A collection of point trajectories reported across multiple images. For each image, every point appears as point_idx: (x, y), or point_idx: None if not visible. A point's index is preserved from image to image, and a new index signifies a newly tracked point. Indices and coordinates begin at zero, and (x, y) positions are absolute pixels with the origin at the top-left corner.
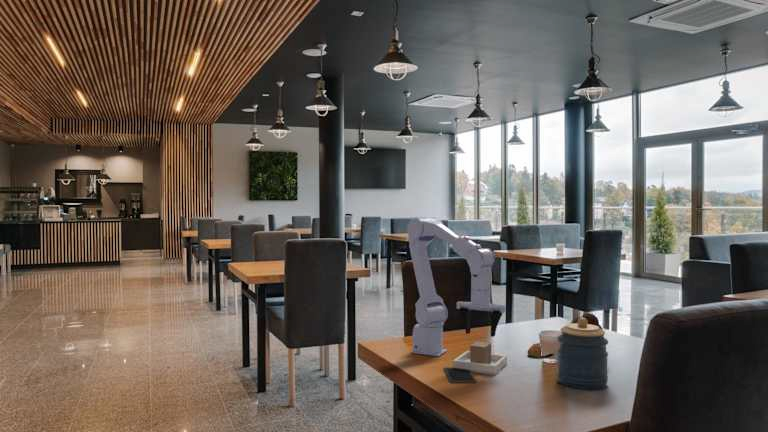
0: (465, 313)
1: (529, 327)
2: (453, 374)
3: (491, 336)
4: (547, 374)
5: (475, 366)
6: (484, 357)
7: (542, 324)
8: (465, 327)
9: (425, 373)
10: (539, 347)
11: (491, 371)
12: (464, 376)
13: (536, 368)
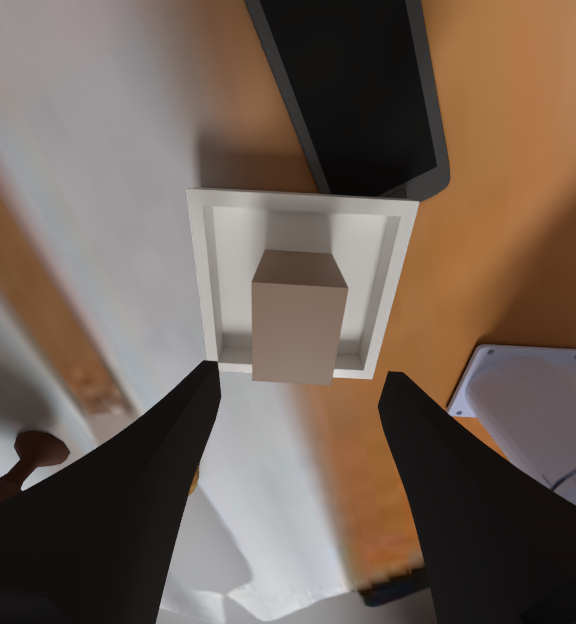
0: (561, 562)
1: (271, 594)
2: (389, 61)
3: (213, 361)
4: (43, 289)
5: (293, 193)
6: (261, 262)
7: (254, 608)
8: (430, 401)
9: (555, 29)
10: None
11: (214, 188)
12: (323, 49)
13: (112, 341)
